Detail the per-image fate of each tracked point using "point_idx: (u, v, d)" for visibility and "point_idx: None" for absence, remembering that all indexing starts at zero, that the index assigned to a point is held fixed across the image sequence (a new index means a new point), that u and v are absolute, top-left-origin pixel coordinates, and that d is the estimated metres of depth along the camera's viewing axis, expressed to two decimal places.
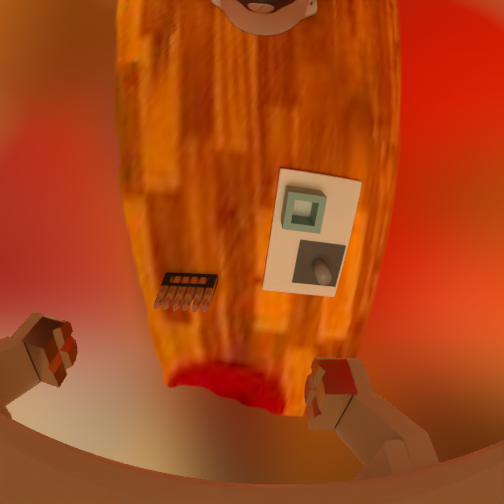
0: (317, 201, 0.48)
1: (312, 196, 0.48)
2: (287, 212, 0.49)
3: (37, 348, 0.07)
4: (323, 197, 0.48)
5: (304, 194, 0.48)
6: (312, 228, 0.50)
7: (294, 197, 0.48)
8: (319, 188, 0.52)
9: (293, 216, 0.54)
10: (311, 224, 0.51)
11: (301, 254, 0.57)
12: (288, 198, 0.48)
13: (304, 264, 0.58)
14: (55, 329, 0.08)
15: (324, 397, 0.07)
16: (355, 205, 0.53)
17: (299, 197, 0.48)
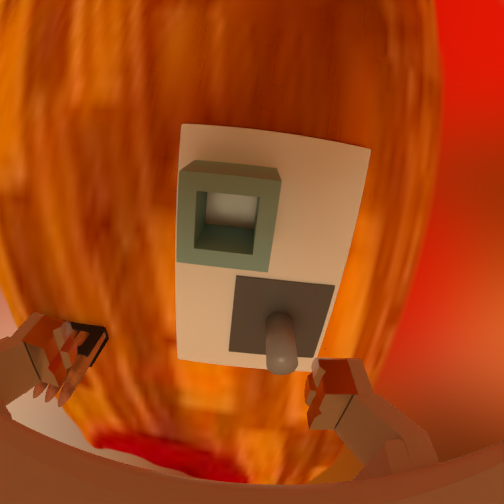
0: (256, 193, 0.19)
1: (243, 180, 0.19)
2: (181, 222, 0.20)
3: (37, 348, 0.07)
4: (271, 182, 0.19)
5: (220, 176, 0.18)
6: (248, 260, 0.21)
7: (195, 185, 0.19)
8: (272, 163, 0.23)
9: (214, 228, 0.24)
10: (247, 249, 0.21)
11: (241, 304, 0.28)
12: (181, 188, 0.19)
13: (250, 322, 0.29)
14: (55, 329, 0.08)
15: (324, 397, 0.07)
16: (356, 201, 0.24)
17: (208, 184, 0.19)
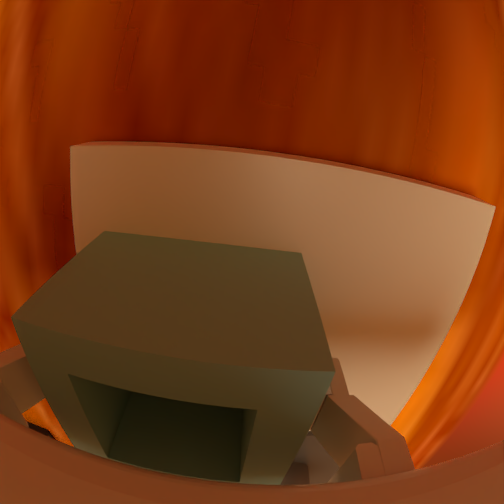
0: (244, 401, 0.05)
1: (196, 371, 0.05)
2: (63, 418, 0.06)
3: None
4: (299, 375, 0.05)
5: (120, 350, 0.05)
6: None
7: (59, 360, 0.05)
8: (291, 242, 0.09)
9: None
10: (227, 460, 0.08)
11: None
12: (32, 359, 0.05)
13: None
14: None
15: None
16: (453, 309, 0.10)
17: (90, 366, 0.05)
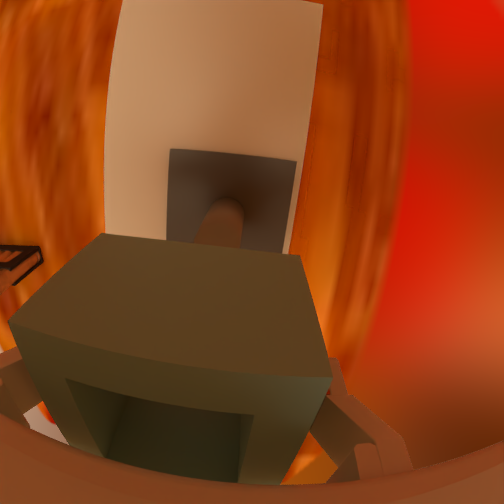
0: (241, 406, 0.05)
1: (192, 376, 0.05)
2: (60, 421, 0.06)
3: None
4: (297, 381, 0.05)
5: (116, 355, 0.05)
6: None
7: (56, 365, 0.05)
8: (211, 19, 0.17)
9: None
10: (225, 464, 0.07)
11: (177, 187, 0.21)
12: (29, 363, 0.05)
13: (189, 215, 0.22)
14: None
15: None
16: (312, 55, 0.18)
17: (86, 370, 0.05)
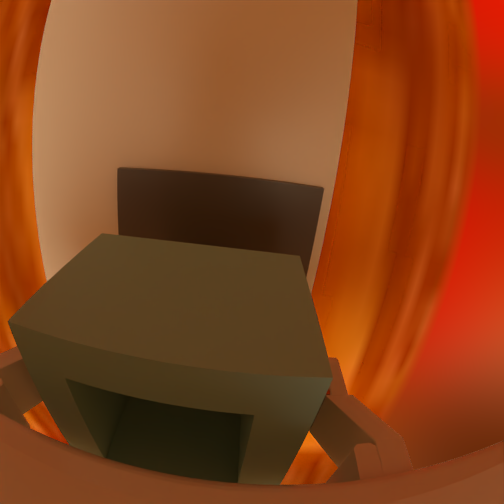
0: (241, 407, 0.05)
1: (192, 376, 0.05)
2: (60, 421, 0.06)
3: None
4: (297, 381, 0.05)
5: (116, 355, 0.05)
6: None
7: (56, 365, 0.05)
8: None
9: None
10: (225, 464, 0.07)
11: (132, 229, 0.13)
12: (29, 363, 0.05)
13: None
14: None
15: None
16: (348, 16, 0.09)
17: (87, 370, 0.05)
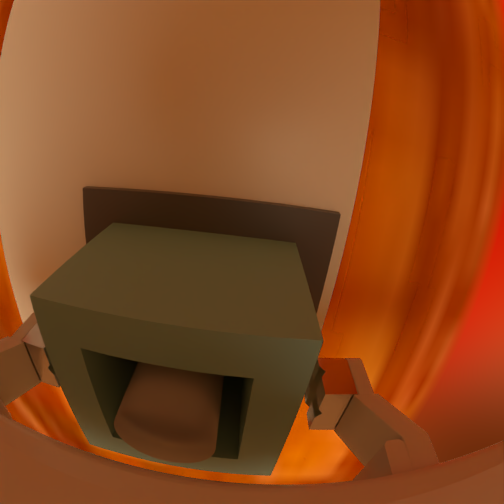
0: (242, 369, 0.06)
1: (199, 339, 0.06)
2: (72, 396, 0.07)
3: (37, 348, 0.07)
4: (291, 343, 0.06)
5: (131, 321, 0.06)
6: (228, 464, 0.08)
7: (73, 335, 0.06)
8: None
9: None
10: (226, 439, 0.08)
11: None
12: (46, 336, 0.06)
13: None
14: None
15: (324, 397, 0.07)
16: None
17: (102, 338, 0.06)
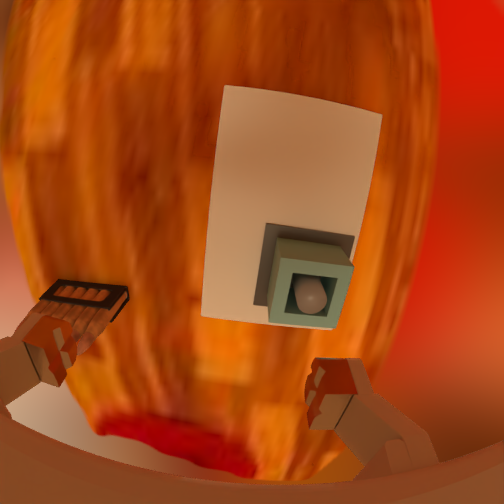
0: (335, 275, 0.25)
1: (327, 266, 0.25)
2: (277, 294, 0.26)
3: (37, 348, 0.07)
4: (347, 267, 0.25)
5: (311, 262, 0.25)
6: (323, 320, 0.27)
7: (292, 268, 0.25)
8: (301, 121, 0.26)
9: (289, 291, 0.31)
10: (321, 312, 0.28)
11: (269, 252, 0.30)
12: (280, 270, 0.25)
13: None
14: (55, 329, 0.08)
15: (324, 397, 0.07)
16: (372, 158, 0.27)
17: (302, 268, 0.25)
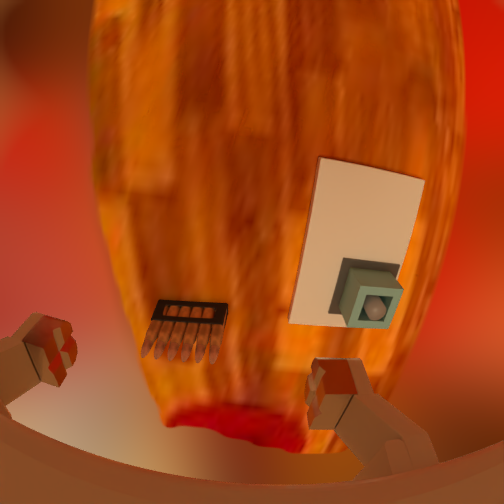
0: (392, 295, 0.36)
1: (388, 289, 0.36)
2: (355, 308, 0.37)
3: (37, 348, 0.07)
4: (399, 290, 0.36)
5: (378, 287, 0.36)
6: (381, 324, 0.38)
7: (366, 292, 0.36)
8: (372, 187, 0.36)
9: None
10: None
11: (343, 277, 0.41)
12: (359, 293, 0.36)
13: None
14: (55, 329, 0.08)
15: (324, 397, 0.07)
16: (415, 211, 0.37)
17: (372, 291, 0.36)
